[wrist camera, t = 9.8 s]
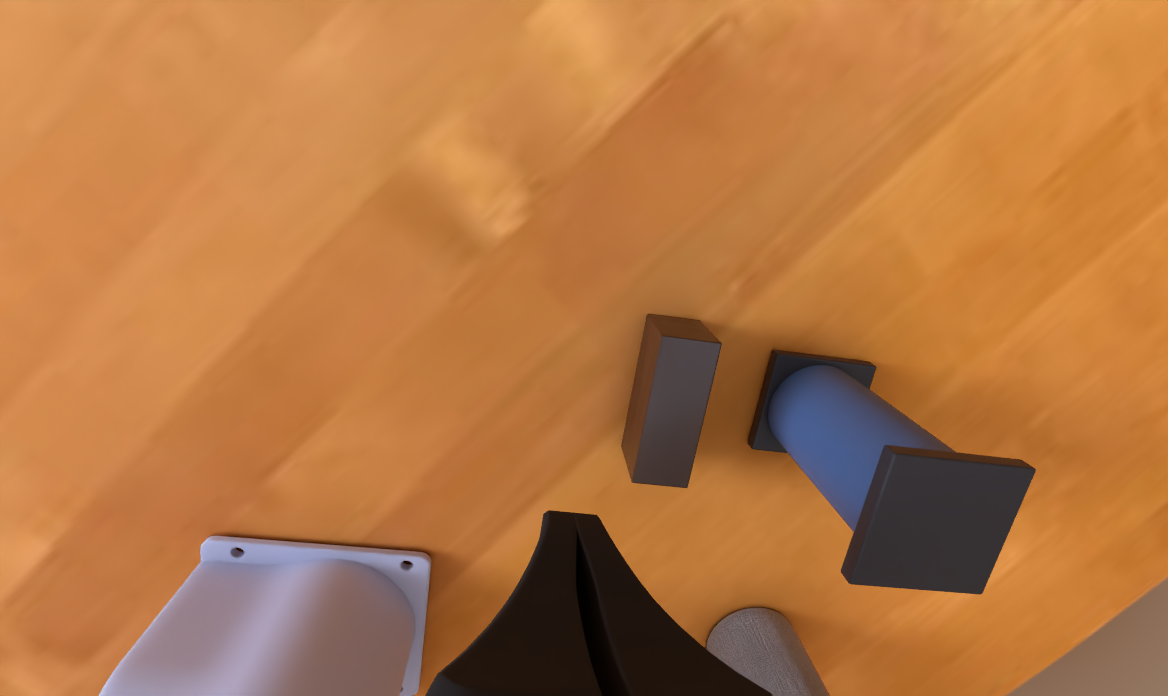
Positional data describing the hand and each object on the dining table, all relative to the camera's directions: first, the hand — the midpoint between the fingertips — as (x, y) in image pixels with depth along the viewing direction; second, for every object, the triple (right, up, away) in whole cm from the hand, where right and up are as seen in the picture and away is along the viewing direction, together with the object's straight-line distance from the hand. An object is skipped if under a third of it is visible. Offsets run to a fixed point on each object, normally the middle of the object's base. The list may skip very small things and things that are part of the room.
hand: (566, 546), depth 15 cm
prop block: (+4, +3, +10) cm, 11 cm away
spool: (+10, +1, +7) cm, 12 cm away
